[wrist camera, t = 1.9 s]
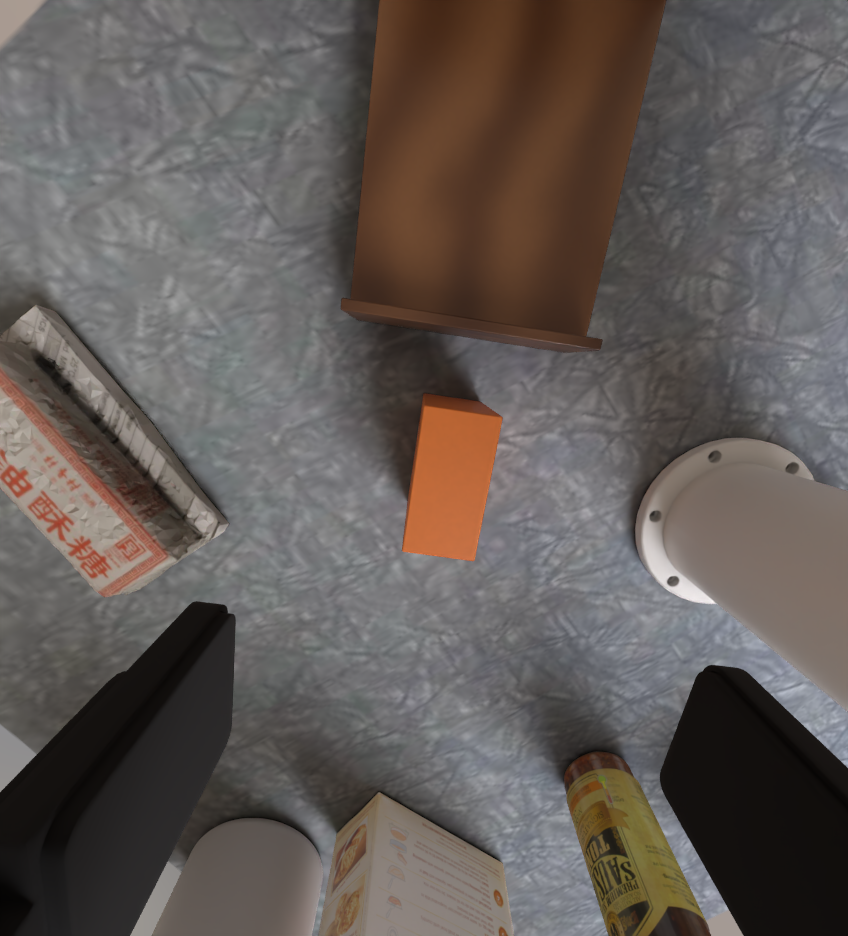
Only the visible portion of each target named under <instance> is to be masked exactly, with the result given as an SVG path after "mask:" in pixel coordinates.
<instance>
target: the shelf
mask: <svg viewBox="0 0 848 936" xmlns="http://www.w3.org/2000/svg"><path fill="white" fill-rule="evenodd" d="M665 4H666V0H379V9H378V20H377V30H376V40H375V51H374V61H373V71H372V82H371V92H370V102H369V113H368V123H367V133H366V144H365V154H364V164H363V175H362V185H361V195H360V206H359V216H358V226H357V237H356V247H355V257H354V268H353V278H352V289H351V299H347V298H342V299H341V310H343V311H344V312H346V313H347V314H349V315H350V316H352V317H353V318H355V319H357V320H360V321H366V322H373V323H379V324H385V325H392V326H398V327H404V328H411V329H417V330H424V331H430V332H436V333H443V334H449V335H455V336H462V337H468V338H474V339H481V340H487V341H494V342H500V343H506V344H513V345H519V346H525V347H532V348H538V349H544V350H551V351H557V352H563V353H570V352H585V351H599V350H600V349H601V345H602V341H603V340H602V339H598V338H592V337H586V336H587V331H588V327H589V323H590V319H591V315H592V310H593V306H594V302H595V298H596V294H597V289H598V285H599V281H600V277H601V273H602V268H603V264H604V260H605V256H606V252H607V247H608V243H609V239H610V235H611V231H612V226H613V222H614V218H615V214H616V210H617V205H618V201H619V197H620V193H621V189H622V184H623V180H624V176H625V172H626V168H627V163H628V159H629V155H630V151H631V147H632V142H633V138H634V134H635V130H636V126H637V121H638V117H639V113H640V109H641V105H642V100H643V96H644V92H645V88H646V84H647V79H648V75H649V71H650V67H651V63H652V58H653V54H654V50H655V46H656V42H657V37H658V33H659V29H660V25H661V20H662V16H663V12H664V8H665Z"/></svg>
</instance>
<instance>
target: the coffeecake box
mask: <svg viewBox="0 0 848 936" xmlns="http://www.w3.org/2000/svg"><path fill="white" fill-rule="evenodd" d="M318 936H514V932H513V926H512V920H511V914H510V907H509V901H508V894H507V888H506V882H505V875H504V869H503V863H502V862H500V861H498V860H496V859H494V858H493V857H491V856H489V855H487V854H485V853H484V852H482V851H480V850H479V849H477V848H475V847H474V846H472V845H470V844H468V843H466V842H465V841H463V840H461V839H459V838H458V837H456V836H454V835H453V834H451V833H449V832H447V831H446V830H444V829H442V828H440V827H439V826H437V825H435V824H434V823H432V822H430V821H428V820H427V819H425V818H423V817H421V816H420V815H418V814H416V813H415V812H413V811H411V810H409V809H408V808H406V807H404V806H402V805H401V804H399V803H397V802H395V801H394V800H392V799H390V798H389V797H387V796H385V795H383V794H382V793H380V792H378V793H377V794H376V795H375V796H374V797H373V798H372V799H371V801H370V802H369V803H368V804H367V805H366V806H365V807H364V808H363V809H362V810H361V811H360V812H359V813H358V814H357V815H356V816H355V817H353V818H352V819H351V820H350V821H349V822H348V823H347V824H346V825H345V826H344V827H343V828H342V829H341V830H340V831H339V832H338V833H337V835H336V842H335V847H334V853H333V858H332V864H331V869H330V874H329V880H328V885H327V891H326V896H325V902H324V907H323V913H322V918H321V924H320V929H319V935H318Z"/></svg>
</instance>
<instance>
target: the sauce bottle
mask: <svg viewBox="0 0 848 936" xmlns="http://www.w3.org/2000/svg"><path fill="white" fill-rule="evenodd" d="M564 782H565V789H566V794H567V804H568V807H569V810H570V813H571V817H572V820H573V823H574V826H575V829H576V833H577V836H578V839H579V842H580V845H581V849H582V852H583V855H584V858H585V861H586V865H587V868H588V872H589V874H590V877H591V880H592V883H593V887H594V890H595V894H596V897H597V900H598V903H599V906H600V910H601V913H602V916H603V919H604V922H605V925H606V929H607V932H608V935H609V936H711V934H710V932H709V927H708V924H707V922H706V920H705V918H704V916H703V914H702V912H701V910H700V908H699V906H698V904H697V902H696V900H695V897H694V895H693V893H692V891H691V889H690V887H689V885H688V883H687V881H686V879H685V877H684V875H683V873H682V871H681V869H680V867H679V865H678V863H677V861H676V858H675V856H674V854H673V852H672V850H671V848H670V846H669V844H668V842H667V840H666V838H665V836H664V834H663V832H662V829H661V827H660V825H659V823H658V821H657V819H656V817H655V815H654V813H653V811H652V809H651V807H650V805H649V803H648V801H647V799H646V797H645V795H644V792H643V790H642V788H641V786H640V784H639V782H638V781H637V780H636V779H635V778H634V777H633V774H632V772H631V770H630V768H629V766H628V765H627V763H626V762H625V761H624V760H623V759H621V758H620V757H619V756H618V755H615V754H612V753H608V752H599V751H597V752H590V753H587V754H585V755H583V756H581V757H579V758H578V759H576V760H574V761H573V762H572V763H571V764H570V766H568V767H567V770H566V772H565V777H564Z"/></svg>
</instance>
